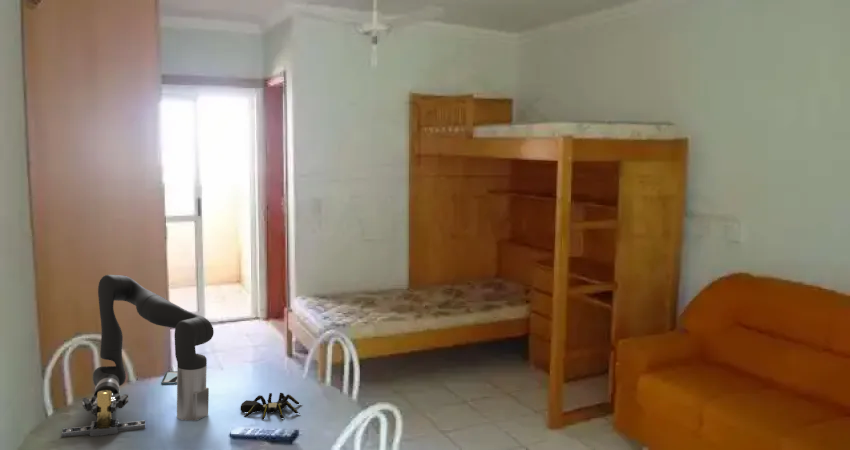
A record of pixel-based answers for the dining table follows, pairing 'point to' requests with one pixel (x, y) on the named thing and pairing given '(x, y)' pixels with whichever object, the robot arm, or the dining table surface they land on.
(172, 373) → the smartphone
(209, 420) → the dining table surface
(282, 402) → the toy
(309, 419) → the dining table surface
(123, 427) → the ball bearing track
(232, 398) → the dining table surface
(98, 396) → the brass pin
